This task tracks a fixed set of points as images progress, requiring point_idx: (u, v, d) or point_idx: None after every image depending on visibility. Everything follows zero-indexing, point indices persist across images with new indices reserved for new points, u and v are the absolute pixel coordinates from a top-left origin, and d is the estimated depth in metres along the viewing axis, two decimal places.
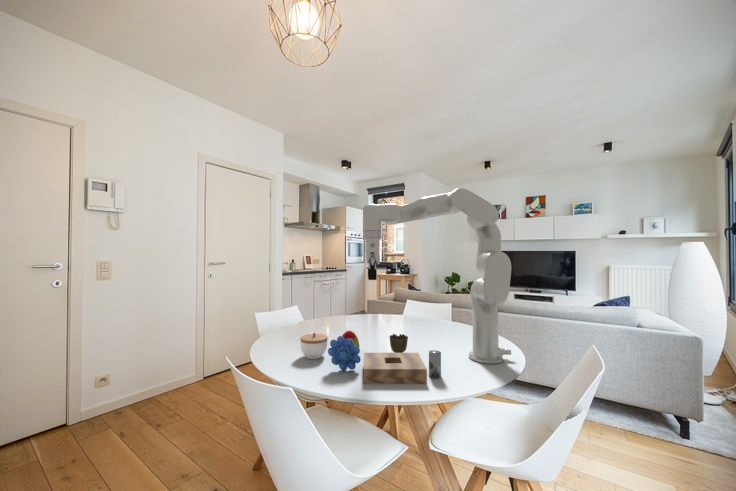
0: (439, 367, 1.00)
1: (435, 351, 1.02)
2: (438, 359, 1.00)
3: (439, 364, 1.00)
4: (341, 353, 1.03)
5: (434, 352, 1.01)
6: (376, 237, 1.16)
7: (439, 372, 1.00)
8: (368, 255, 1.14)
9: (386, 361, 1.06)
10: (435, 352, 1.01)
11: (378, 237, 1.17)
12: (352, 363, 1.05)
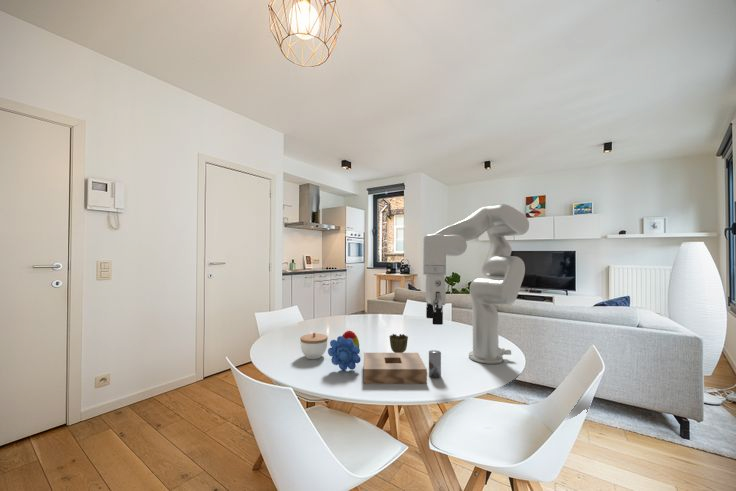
0: (439, 367, 1.00)
1: (435, 351, 1.02)
2: (438, 359, 1.00)
3: (439, 364, 1.00)
4: (341, 353, 1.03)
5: (434, 352, 1.01)
6: (441, 273, 0.99)
7: (439, 372, 1.00)
8: (433, 295, 0.97)
9: (386, 361, 1.06)
10: (435, 352, 1.01)
11: (443, 273, 0.99)
12: (352, 363, 1.05)
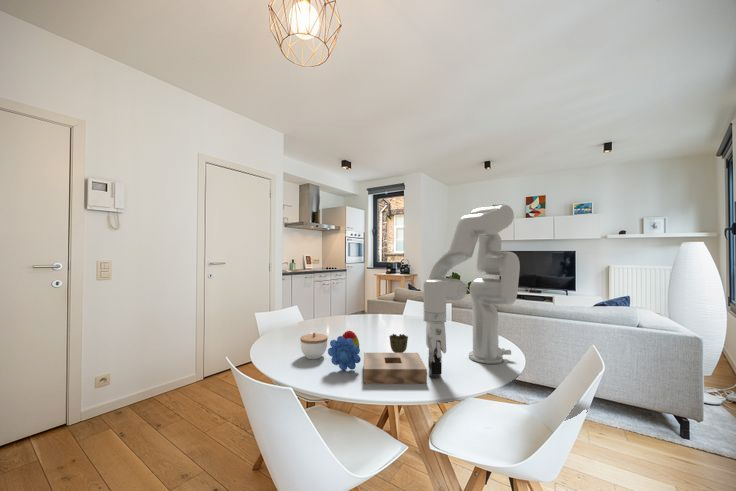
0: None
1: (435, 351, 1.02)
2: None
3: None
4: (341, 353, 1.03)
5: None
6: (441, 321, 0.98)
7: None
8: (433, 344, 0.97)
9: (386, 361, 1.06)
10: None
11: (443, 320, 0.99)
12: (352, 363, 1.05)
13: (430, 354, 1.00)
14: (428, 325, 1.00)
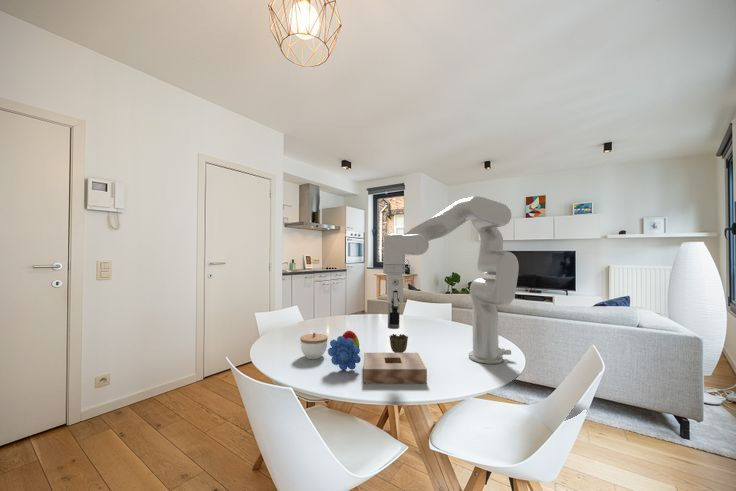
0: None
1: None
2: None
3: None
4: (341, 353, 1.03)
5: None
6: (399, 272, 1.01)
7: None
8: (390, 294, 0.99)
9: (386, 361, 1.06)
10: None
11: (401, 272, 1.01)
12: (352, 363, 1.05)
13: (389, 306, 1.03)
14: (387, 277, 1.03)
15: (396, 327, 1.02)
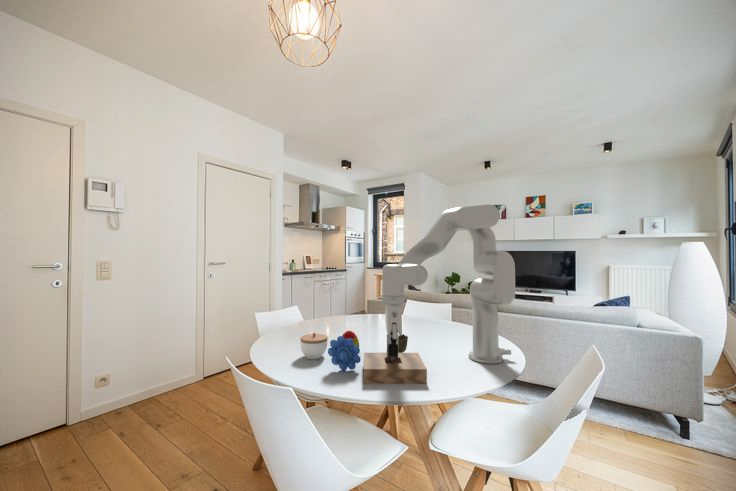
0: None
1: None
2: None
3: None
4: (341, 353, 1.03)
5: None
6: (398, 304, 1.00)
7: None
8: (389, 326, 0.99)
9: (386, 361, 1.06)
10: None
11: (400, 304, 1.01)
12: (352, 363, 1.05)
13: (387, 337, 1.02)
14: (386, 308, 1.02)
15: (395, 358, 1.01)
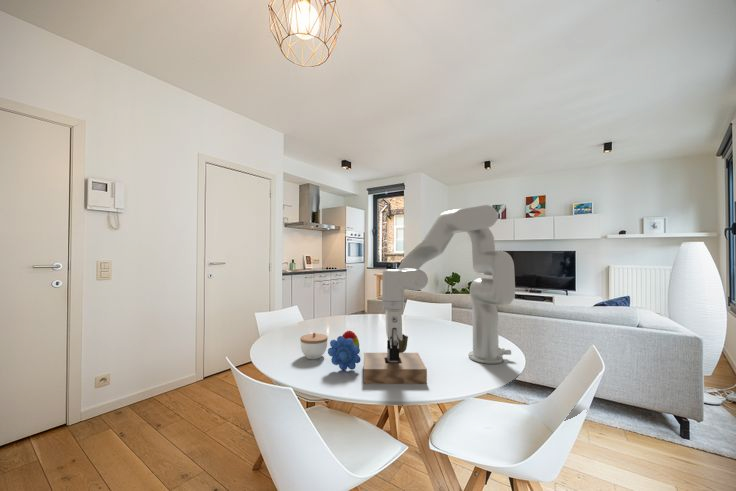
0: None
1: None
2: None
3: (396, 362, 1.02)
4: (341, 353, 1.03)
5: None
6: (398, 309, 1.00)
7: None
8: (389, 331, 0.99)
9: (386, 361, 1.06)
10: None
11: (400, 309, 1.01)
12: (352, 363, 1.05)
13: (388, 352, 1.02)
14: (386, 313, 1.02)
15: None
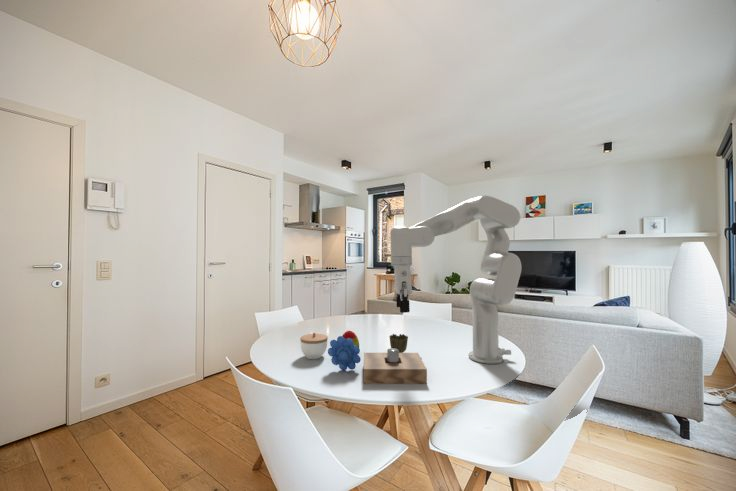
0: None
1: (394, 349, 1.04)
2: (395, 357, 1.01)
3: (397, 362, 1.02)
4: (341, 353, 1.03)
5: (392, 350, 1.03)
6: (407, 264, 1.04)
7: None
8: (399, 285, 1.02)
9: (386, 361, 1.06)
10: (393, 350, 1.03)
11: (409, 264, 1.05)
12: (352, 363, 1.05)
13: (388, 352, 1.02)
14: (395, 269, 1.06)
15: None
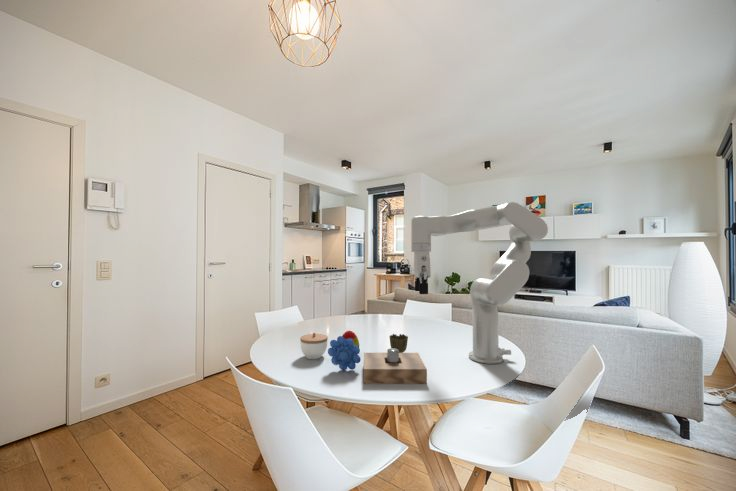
0: None
1: (394, 349, 1.04)
2: (395, 357, 1.01)
3: (397, 362, 1.02)
4: (341, 353, 1.03)
5: (392, 350, 1.03)
6: (427, 250, 1.13)
7: None
8: (419, 269, 1.11)
9: (386, 361, 1.06)
10: (393, 350, 1.03)
11: (428, 250, 1.14)
12: (352, 363, 1.05)
13: (388, 352, 1.02)
14: (415, 255, 1.15)
15: None
